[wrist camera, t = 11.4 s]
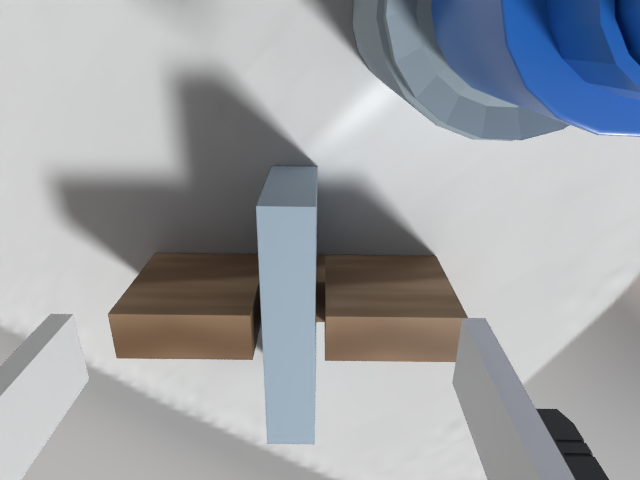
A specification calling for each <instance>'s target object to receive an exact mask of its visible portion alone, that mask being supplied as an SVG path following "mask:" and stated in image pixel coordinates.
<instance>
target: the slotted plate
mask: <svg viewBox="0 0 640 480" xmlns="http://www.w3.org/2000/svg"><path fill="white" fill-rule="evenodd" d="M256 217H257V238H258V259H259V280H260V301H261V321H262V342H263V363H264V384H265V405H266V426H267V444H314V442H315V391H316V262H317V166H272V167H271V169H270V172H269V174H268V177H267V179H266V182H265V185H264V187H263V190H262V192H261V195H260V197H259V200H258V202H257V205H256Z"/></svg>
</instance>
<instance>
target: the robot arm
mask: <svg viewBox="0 0 640 480" xmlns="http://www.w3.org/2000/svg"><path fill="white" fill-rule="evenodd" d="M88 380H89V377H88V372H87V368H86V364H85V360H84V356H83V352H82V348H81V344H80V340H79V336H78V332H77V328H76V324H75V320H74V316H73V314H50V315H49V316H48V317H47V318H46V319H45V320H44V321H43V323H42V324H41V325H40V326H39V327H38V328H37V329H36V330H35V331H34V332H33V333H32V334H31V335H30V336H29V337H28V338H27V339H26V340H25V341H24V342H23V343H22V344H21V345H20V346H19V347H18V348H17V349H16V350H15V351H14V353H13V354H12V355H11V356H10V357H9V358H8V359H7V360H6V361H5V362H4V363H3V364H2V365H1V366H0V480H21V479H22V477H23V476H24V474H25V473H26V471H27V470H28V469H29V467H30V466H31V464H32V462H33V461H34V460H35V458H36V457H37V455H38V454H39V452H40V451H41V449H42V448H43V446H44V445H45V443H46V442H47V441H48V439H49V438H50V436H51V435H52V433H53V432H54V430H55V429H56V427H57V426H58V424H59V423H60V421H61V420H62V418H63V417H64V415H65V414H66V412H67V411H68V409H69V408H70V407H71V405H72V404H73V402H74V401H75V399H76V398H77V396H78V395H79V393H80V392H81V390H82V389H83V387H84V386H85V384H86V383H87V381H88ZM453 386H454V388H455V391H456V394H457V397H458V399H459V402H460V405H461V408H462V410H463V413H464V416H465V419H466V421H467V424H468V427H469V430H470V432H471V435H472V438H473V441H474V443H475V446H476V449H477V452H478V454H479V457H480V460H481V463H482V465H483V468H484V471H485V474H486V476H487V479H488V480H609V479H608V477H607V476H606V474H605V473H604V471H603V469H602V468H601V466H600V465H599V463H598V462H597V460H596V458H595V457H593V456H592V452H591V450H590V449H589V447H588V446H587V444H586V443H584V440H583V438H582V436H581V435H580V433H579V432H578V430H577V428H576V427H575V425H574V424H573V423H572V422H571V421H570V420H569V419H568V418H567V417H565V416H564V415H563V414H562V413H561V412H560V411H559V410H557V409H535V407H534V405H533V403H532V401H531V399H530V398H529V396H528V394H527V392H526V390H525V389H524V387H523V385H522V383H521V381H520V380H519V378H518V376H517V374H516V373H515V371H514V369H513V367H512V365H511V364H510V362H509V360H508V358H507V356H506V355H505V353H504V351H503V349H502V347H501V346H500V344H499V342H498V340H497V338H496V337H495V335H494V333H493V331H492V330H491V328H490V326H489V324H488V322H487V321H486V319H485V318H462V324H461V331H460V337H459V344H458V350H457V357H456V363H455V370H454V376H453Z"/></svg>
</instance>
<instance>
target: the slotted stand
mask: <svg viewBox="0 0 640 480" xmlns="http://www.w3.org/2000/svg"><path fill="white" fill-rule="evenodd" d="M108 317H109V322H110V327H111V332H112V337H113V342H114V347H115V352H116V357H117V358H142V359H232V360H253V356H254V351H255V347H256V342H257V337H258V333H259V328H260V324H261V301H260V280H259V259H258V254H197V253H155V254H154V255H153V257H152V258H151V259H150V260H149V262H148V263H147V264H146V266H145V267H144V268H143V269H142V271H141V272H140V273H139V275H138V276H137V277H136V279H135V280H134V281H133V282H132V284H131V285H130V286H129V288H128V289H127V290H126V291H125V293H124V294H123V295H122V297H121V298H120V299H119V300H118V302H117V303H116V304H115V306H114V307H113V308H112V309H111V311H110V312H109V313H108ZM462 318H468V317H467V315H466V313H465V311H464V309H463V307H462V305H461V303H460V301H459V300H458V298H457V296H456V294H455V292H454V290H453V288H452V286H451V284H450V282H449V280H448V278H447V276H446V274H445V272H444V270H443V269H442V267H441V265H440V263H439V261H438V259H437V257H436V256H383V255H317V262H316V322H325V361H413V362H456V357H457V350H458V344H459V337H460V331H461V324H462Z"/></svg>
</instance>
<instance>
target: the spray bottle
mask: <svg viewBox="0 0 640 480" xmlns="http://www.w3.org/2000/svg"><path fill="white" fill-rule="evenodd" d="M352 26H353V31H354V35H355V40H356V44H357V48H358V51H359V53H360V55H361V56H362V58H363V60H364V62H365V63H366V65H367V67H368V68H369V70H370V71H371V72H372V73H373V74H374V75H375V76H376V77H378V78H379V79H380V80H381V81H382V82H383V83H384V84H386V85H387V86H388V87H389V88H390V89H392V90H393V91H394V92H395V93H397V94H398V95H399V96H400V97H402V98H403V99H404V100H405V101H407V102H408V103H409V104H410V105H412V106H413V107H414V108H415V109H417V110H418V111H419V112H420V113H422V114H423V115H424V116H425V117H427V118H428V119H429V120H430V121H432V122H433V123H434V124H435V125H437V126H440V127H442V128H445V129H447V130H450V131H452V132H455V133H458V134H460V135H463V136H465V137H468V138H470V139H480V140H503V141H513V140H524V139H528V138H532V137H535V136H539V135H543V134H547V133H550V132H554V131H558V130H562V129H564V128H565V127H567V126H569V125H572V126H575V127H577V128H580V129H583V130H586V131H588V132H591V133H594V134H597V135H613V136H637V137H640V0H354V7H353V23H352Z"/></svg>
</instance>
